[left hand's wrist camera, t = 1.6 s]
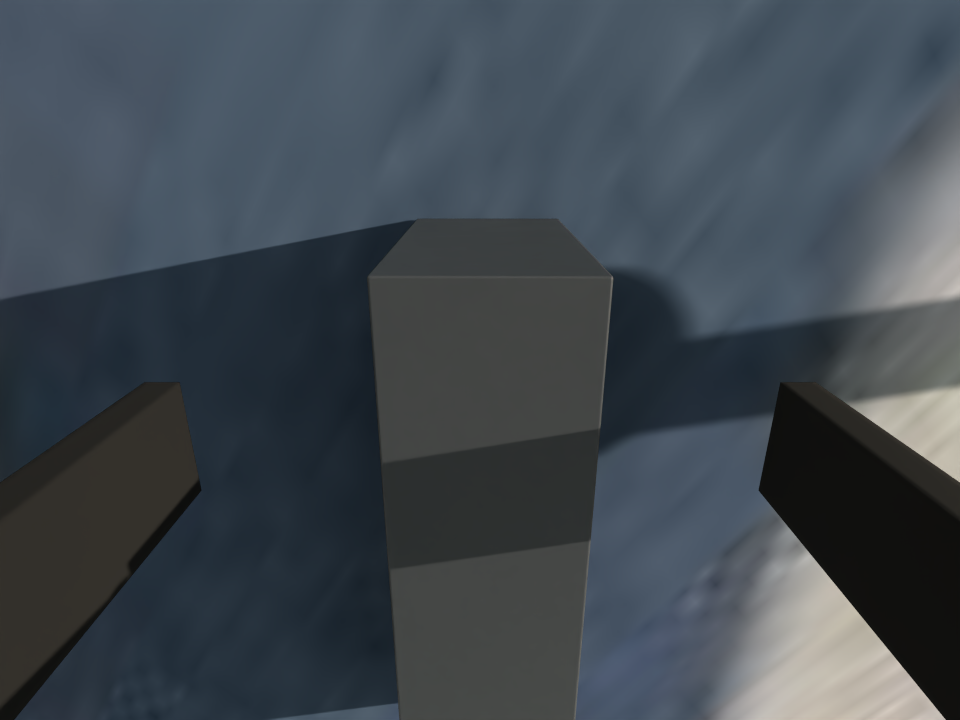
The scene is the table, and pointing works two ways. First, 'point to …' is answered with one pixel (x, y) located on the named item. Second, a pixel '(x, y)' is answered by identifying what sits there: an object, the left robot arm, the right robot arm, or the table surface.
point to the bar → (488, 460)
